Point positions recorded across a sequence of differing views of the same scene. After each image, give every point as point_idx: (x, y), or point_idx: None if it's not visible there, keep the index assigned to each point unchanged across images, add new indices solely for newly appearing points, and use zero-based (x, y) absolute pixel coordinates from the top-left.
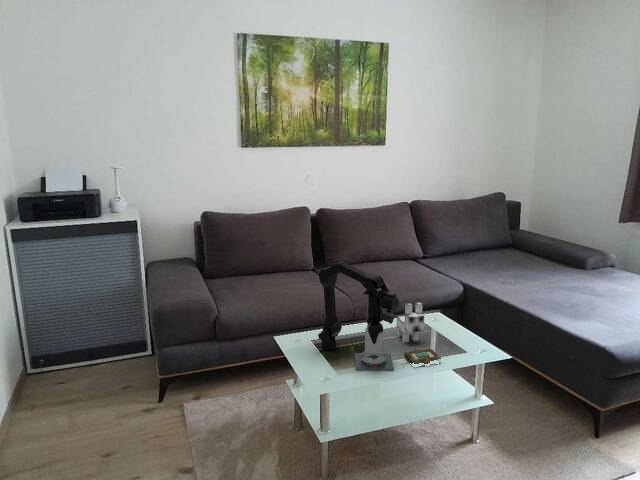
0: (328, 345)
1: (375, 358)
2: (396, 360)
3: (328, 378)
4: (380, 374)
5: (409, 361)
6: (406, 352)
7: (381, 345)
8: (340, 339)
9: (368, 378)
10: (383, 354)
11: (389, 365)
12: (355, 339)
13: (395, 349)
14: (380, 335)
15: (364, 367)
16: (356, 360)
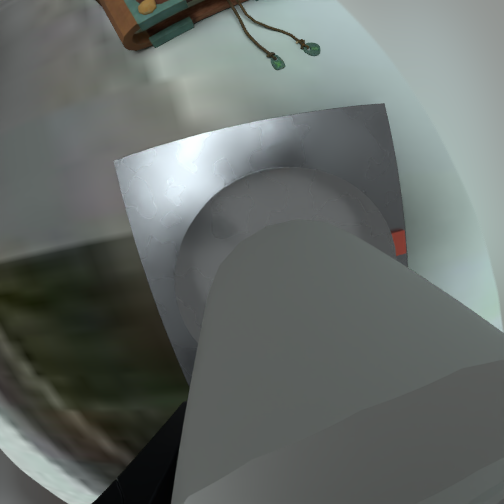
0: None
1: None
2: (194, 99)
3: None
4: (435, 193)
5: (230, 2)
6: (156, 10)
7: (362, 243)
8: (59, 446)
9: (475, 255)
10: (255, 201)
11: (343, 136)
12: (19, 393)
13: (23, 152)
14: (500, 331)
15: None
16: None
